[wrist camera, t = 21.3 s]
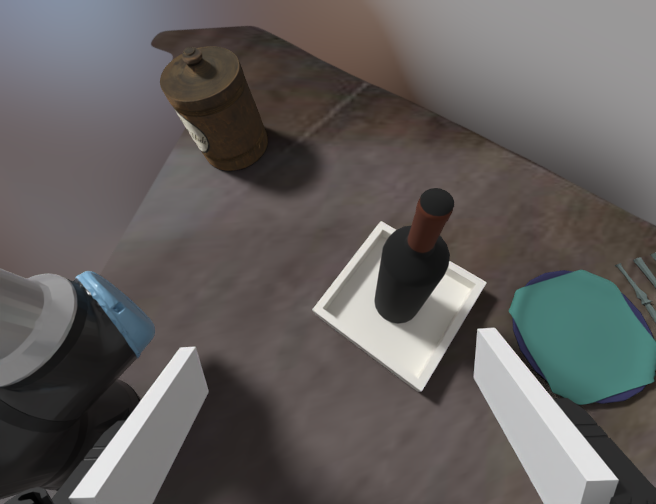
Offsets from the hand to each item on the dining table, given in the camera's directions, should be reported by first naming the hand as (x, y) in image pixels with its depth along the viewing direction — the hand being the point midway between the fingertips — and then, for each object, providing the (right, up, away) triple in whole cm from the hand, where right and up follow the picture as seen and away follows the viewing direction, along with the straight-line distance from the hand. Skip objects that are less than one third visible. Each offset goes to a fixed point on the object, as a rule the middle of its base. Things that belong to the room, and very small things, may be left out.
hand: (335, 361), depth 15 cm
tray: (+11, -3, +39) cm, 41 cm away
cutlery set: (+43, -6, +35) cm, 56 cm away
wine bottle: (+11, -3, +38) cm, 40 cm away
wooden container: (-21, +30, +57) cm, 68 cm away
